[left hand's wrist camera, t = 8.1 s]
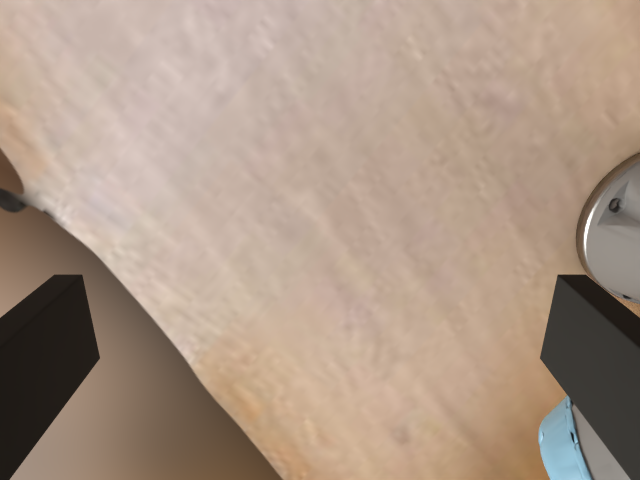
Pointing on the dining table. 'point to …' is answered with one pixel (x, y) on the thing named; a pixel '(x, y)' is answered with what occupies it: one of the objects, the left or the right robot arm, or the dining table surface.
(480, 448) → the dining table surface
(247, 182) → the dining table surface
